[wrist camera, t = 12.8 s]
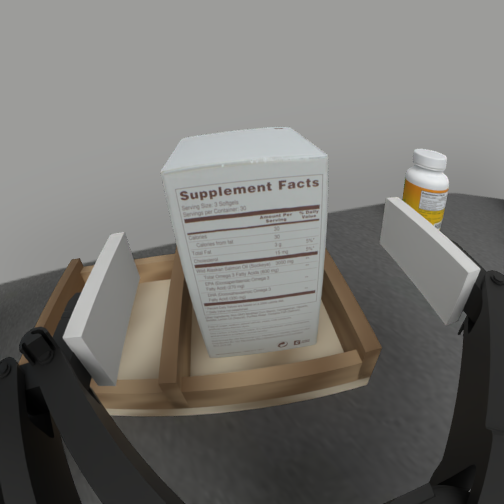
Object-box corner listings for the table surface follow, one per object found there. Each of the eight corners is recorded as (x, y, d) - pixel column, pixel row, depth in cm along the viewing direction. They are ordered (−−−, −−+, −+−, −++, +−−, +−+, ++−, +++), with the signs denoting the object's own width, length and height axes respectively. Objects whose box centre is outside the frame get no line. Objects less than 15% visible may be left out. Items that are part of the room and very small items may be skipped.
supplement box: (208, 290, 24) (179, 136, 17) (297, 280, 25) (294, 124, 18) (206, 362, 18) (154, 169, 11) (319, 348, 18) (333, 150, 11)
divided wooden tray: (44, 408, 15) (13, 377, 13) (86, 291, 27) (71, 259, 25) (366, 384, 16) (382, 347, 14) (310, 262, 28) (311, 225, 26)
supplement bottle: (395, 218, 34) (404, 144, 29) (433, 222, 33) (444, 151, 28) (400, 239, 30) (413, 156, 25) (442, 244, 29) (459, 164, 23)
